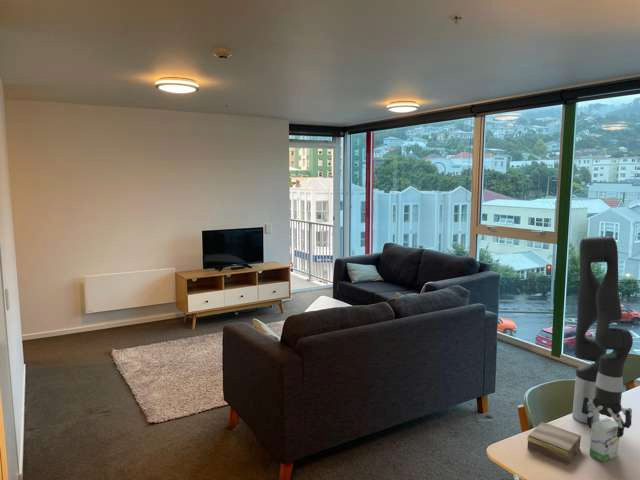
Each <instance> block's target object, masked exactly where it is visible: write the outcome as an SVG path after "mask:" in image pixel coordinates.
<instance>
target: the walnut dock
mask: <svg viewBox="0 0 640 480" xmlns="http://www.w3.org/2000/svg"><path fill="white" fill-rule="evenodd" d="M581 438H582V436H581V435H580V434H577V433H575V432H572V431H569V430H566V429H564V428H561V427H558V426H555V425H553V424H549V423H547V422H544V421H541V422H540V423H539V424H538V425H537V426H536V427H535V428H534V429H533V430H532V431H531V432H530V433H529V434H528V436H527V446H526V447H527V450H531V451H533V452H535V453H537V454H540V455H542V456H545V457H547V458H549V459H552V460H555V461H557V462H560V463H562V464H564V465H566V466H567V465H569V463H570V462H571V461H572V459H573V458H574V457H575V456H576V454H577V453H578V452H579V451H580V450H581V449H580V448H581Z"/></svg>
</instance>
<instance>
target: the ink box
mask: <svg viewBox="0 0 640 480" xmlns="http://www.w3.org/2000/svg"><path fill="white" fill-rule="evenodd" d="M617 431H618V424H617V423H616V421H614V420H612V419H611V418H609V417H606V418H603V419H599V421H597V422H594V423H593V424H592V428H591V432H590V434H591V435H590V443H589V444H590V445H589V456H590V457H592V458H594V459H595V460H598V461H599V462H602V463H605V462H607V461H608V460H611V459H614V458H617V457H618V456H619V455H618V454H619V445H620V438H618V437H617Z"/></svg>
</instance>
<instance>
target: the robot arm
mask: <svg viewBox="0 0 640 480" xmlns="http://www.w3.org/2000/svg"><path fill="white" fill-rule="evenodd" d="M618 250H619V249H618V245H617V242H616V239H615V238H614V237H613V236H610V235H609V236H608V235H607V236H605V235H603V236H601V235H600V236H586V237H583V238H582V239H581V240H580V243H579V280H578V281H579V286H578V293H577V294H578V295H577V314H576V316H577V317H576V318H577V319H576V327H575V328H576V329H575V336H574V344H573V353H574V357H575V358H577V359H580V360H585V361H587V362H588V361H589V362H594V363H591V364H586V365H580V366H578V367H576V370H575V379H574V380H575V381H574V392H573V393H574V395H573V402H572V403H573V406H572V413H571V415H572V418H573V419H575V420H576V421H578V422H580V423H583V424H586V425H587V426H588V428H590V429H592V424H593V423H594V422H597V421H600V416H601V415H602V416H606V417H607V418H612V419H613V421H614V422H616V423H617V424H618V431H617V437H618V438H619V439H620V438H622V437H623V435H624V433H625V428H626V429H630V427H631V426H632V416H633V413H632V412H633V410H632V408H630V407H627V408H625V407H622V396H623V395H622V394H623V385H624V380H623V375H624V368H625V363H626V360H627V358H628V356H629V354H630V351H631V350H632V347H633V343H634V338H633V335H632V334H631V332H630V330H628V329H626V328H619V327H617V328H616V327H610V324H611V323H615V322H619V321H621V320H622V319H623V312H622V304H621V299H620V293H619V292H620V290H619V254H618V253H619V251H618ZM592 263H594V264H595V263H596V264H597V263H605V264H606V272H605V276H604V277H603V279H602V281H601V283H600V281H599V280H598V279H597V277H596V275H595V274H594V272H593V270H592ZM595 323H596V330H595V333H594V334H595V335H594V337H593V336H589V335H586V334H587V333H588V330H589V329H590V328H591V327H592V325H594V324H595ZM609 350H610V351H611V350H612V351H611V352H610V353H607V352H608V351H609ZM621 412H622V414H623V415H624V416H625V417H624V420H623V418H622V416H621V414H620V413H621ZM624 421H625V422H624Z"/></svg>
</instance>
